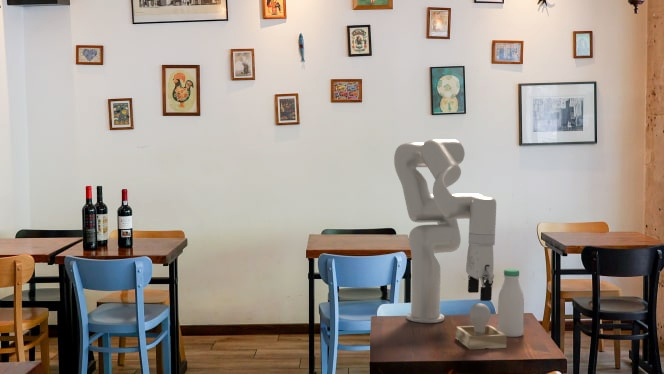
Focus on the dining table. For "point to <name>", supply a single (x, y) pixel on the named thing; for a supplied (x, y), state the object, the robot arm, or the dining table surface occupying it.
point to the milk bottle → (511, 305)
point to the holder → (481, 337)
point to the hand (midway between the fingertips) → (479, 296)
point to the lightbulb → (479, 317)
